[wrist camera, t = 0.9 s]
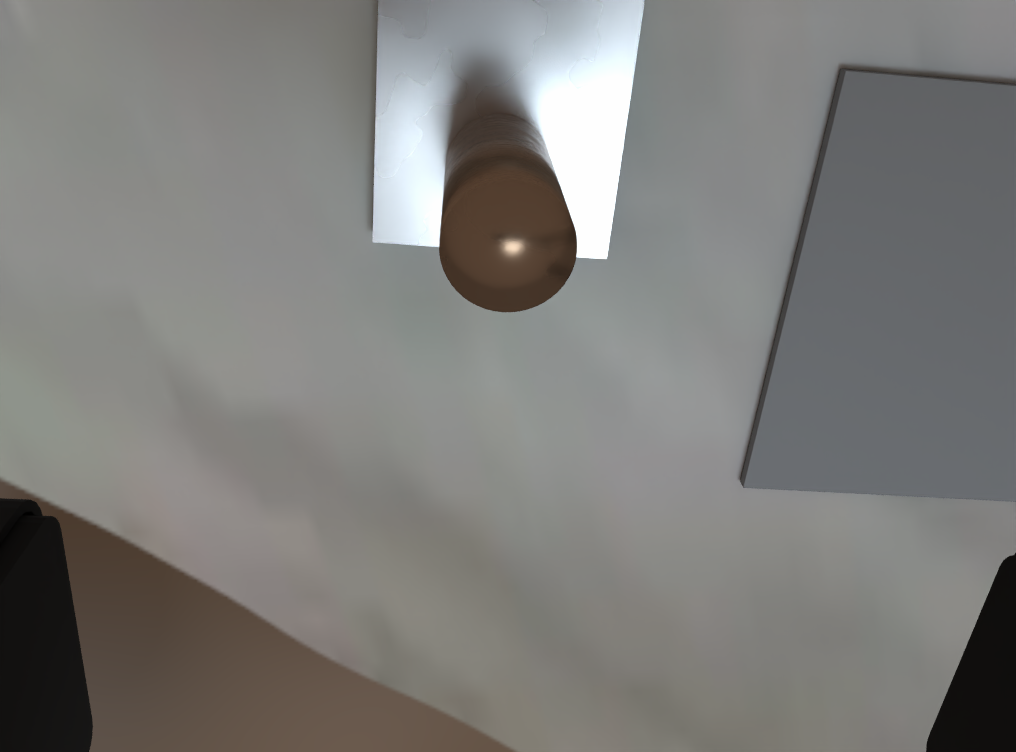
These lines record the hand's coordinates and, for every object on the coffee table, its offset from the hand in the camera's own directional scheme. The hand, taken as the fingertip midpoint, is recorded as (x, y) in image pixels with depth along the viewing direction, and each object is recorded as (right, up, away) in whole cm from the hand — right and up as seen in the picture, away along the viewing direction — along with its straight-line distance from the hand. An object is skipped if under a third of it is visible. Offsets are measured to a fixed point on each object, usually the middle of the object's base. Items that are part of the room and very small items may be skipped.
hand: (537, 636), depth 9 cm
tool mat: (+14, +5, +20) cm, 25 cm away
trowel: (0, +11, +16) cm, 20 cm away
